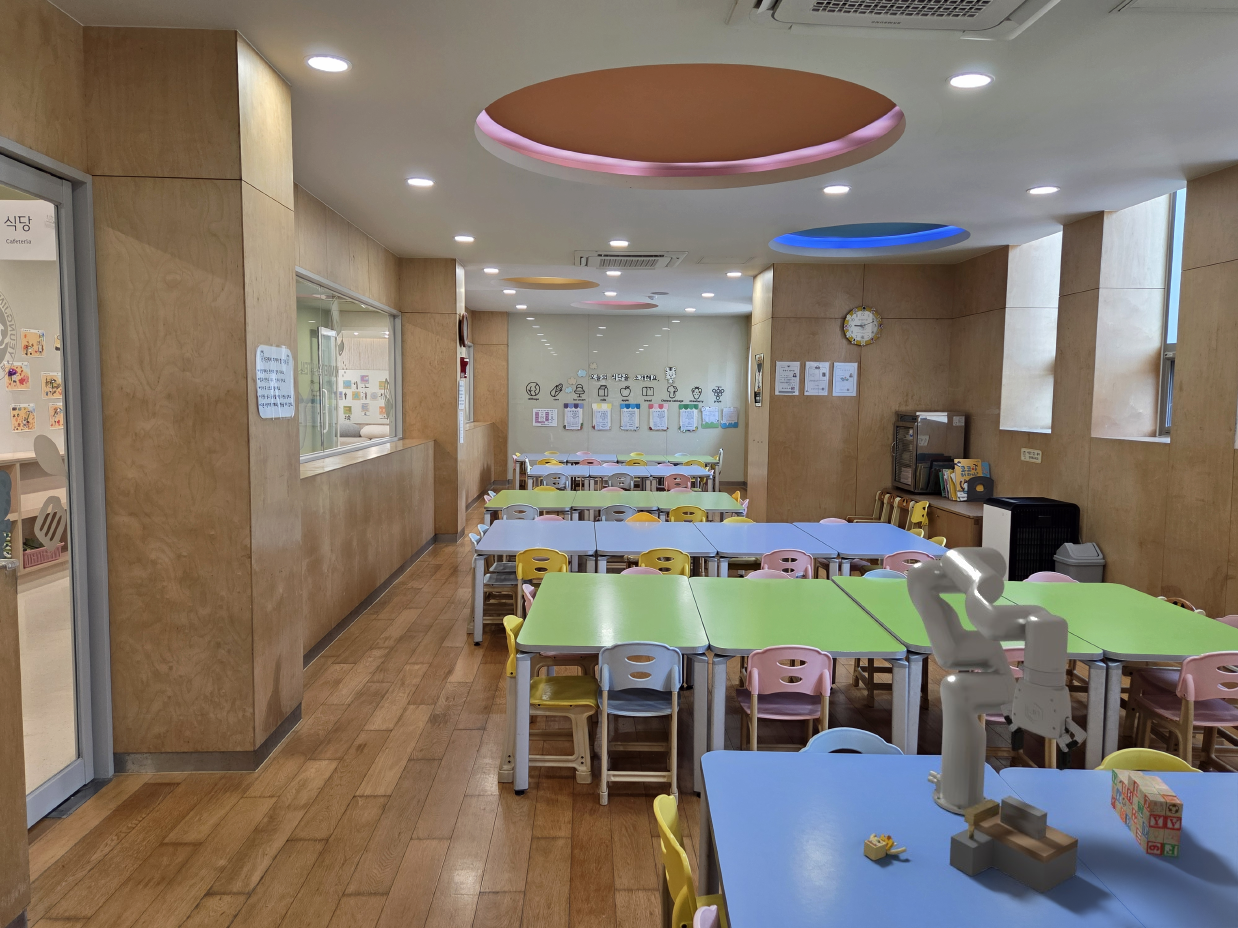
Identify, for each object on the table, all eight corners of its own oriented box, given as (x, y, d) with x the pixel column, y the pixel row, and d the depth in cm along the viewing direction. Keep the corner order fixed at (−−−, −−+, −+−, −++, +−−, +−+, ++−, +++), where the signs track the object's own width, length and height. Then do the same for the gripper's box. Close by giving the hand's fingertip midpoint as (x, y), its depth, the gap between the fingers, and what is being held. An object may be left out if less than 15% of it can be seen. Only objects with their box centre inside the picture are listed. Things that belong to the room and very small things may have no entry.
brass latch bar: (963, 835, 162) (964, 809, 162) (989, 823, 167) (990, 798, 166) (972, 839, 160) (973, 813, 160) (998, 827, 165) (999, 802, 165)
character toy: (909, 841, 165) (884, 851, 161) (908, 855, 165) (883, 866, 161) (878, 823, 172) (853, 833, 168) (877, 837, 172) (852, 848, 168)
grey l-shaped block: (947, 862, 163) (948, 834, 163) (1001, 837, 173) (1002, 811, 173) (1021, 904, 150) (1023, 874, 149) (1075, 874, 160) (1077, 846, 159)
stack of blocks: (1109, 805, 188) (1113, 755, 188) (1139, 808, 187) (1142, 758, 186) (1146, 854, 168) (1150, 798, 167) (1179, 858, 166) (1183, 802, 165)
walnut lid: (969, 825, 166) (971, 796, 166) (1002, 811, 173) (1004, 782, 172) (1044, 863, 153) (1046, 831, 152) (1077, 846, 159) (1079, 815, 159)
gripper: (993, 666, 164) (989, 746, 165) (1076, 692, 149) (1072, 780, 150) (1015, 661, 167) (1011, 739, 169) (1098, 686, 153) (1094, 772, 154)
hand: (1039, 758), depth 159 cm, fingers open, 9 cm apart
